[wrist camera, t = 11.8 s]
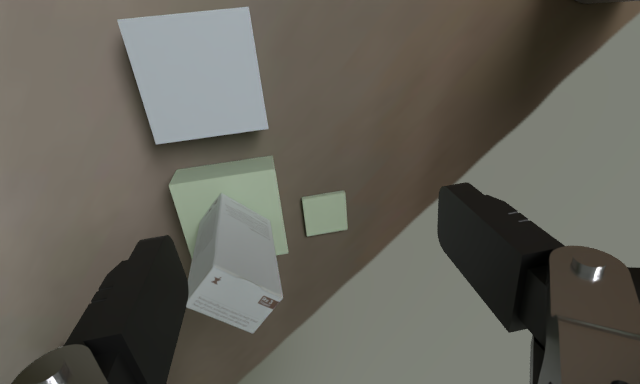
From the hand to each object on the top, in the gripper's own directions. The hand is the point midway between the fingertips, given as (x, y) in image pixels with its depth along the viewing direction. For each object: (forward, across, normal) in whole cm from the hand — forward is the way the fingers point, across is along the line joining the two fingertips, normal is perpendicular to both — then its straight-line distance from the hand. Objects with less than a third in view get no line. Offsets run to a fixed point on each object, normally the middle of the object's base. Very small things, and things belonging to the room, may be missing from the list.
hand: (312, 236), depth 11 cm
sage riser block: (+27, +7, +12) cm, 30 cm away
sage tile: (+27, -3, +15) cm, 31 cm away
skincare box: (+23, +6, +12) cm, 27 cm away
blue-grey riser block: (+27, +6, -2) cm, 28 cm away
